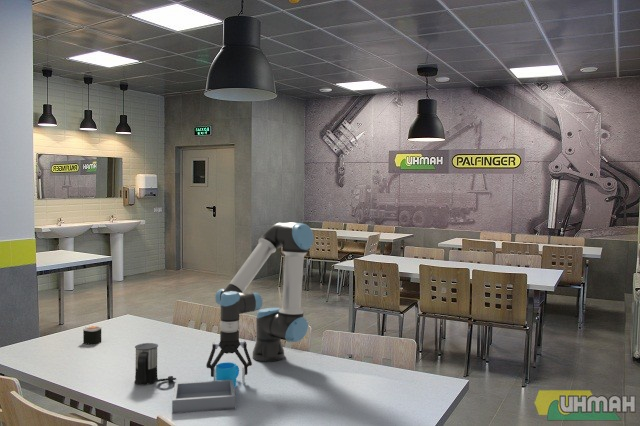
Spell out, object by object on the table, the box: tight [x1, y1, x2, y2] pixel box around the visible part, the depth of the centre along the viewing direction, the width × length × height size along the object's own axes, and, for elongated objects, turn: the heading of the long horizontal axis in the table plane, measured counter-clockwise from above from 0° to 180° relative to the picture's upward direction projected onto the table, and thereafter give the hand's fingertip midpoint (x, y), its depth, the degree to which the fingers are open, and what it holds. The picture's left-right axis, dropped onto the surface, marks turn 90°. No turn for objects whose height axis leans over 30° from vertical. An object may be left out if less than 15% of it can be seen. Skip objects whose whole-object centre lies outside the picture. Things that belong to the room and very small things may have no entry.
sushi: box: [82, 325, 103, 346], centre depth 267 cm, size 8×8×8 cm
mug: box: [215, 361, 240, 388], centre depth 213 cm, size 12×8×8 cm
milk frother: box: [134, 342, 177, 386], centre depth 213 cm, size 14×16×15 cm
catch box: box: [171, 379, 236, 415], centre depth 194 cm, size 22×17×5 cm
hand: (229, 383), depth 213 cm, fingers open, 11 cm apart
